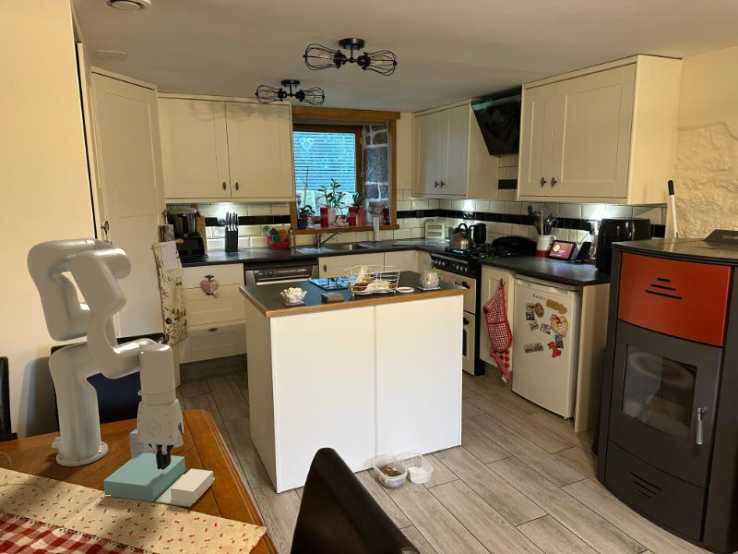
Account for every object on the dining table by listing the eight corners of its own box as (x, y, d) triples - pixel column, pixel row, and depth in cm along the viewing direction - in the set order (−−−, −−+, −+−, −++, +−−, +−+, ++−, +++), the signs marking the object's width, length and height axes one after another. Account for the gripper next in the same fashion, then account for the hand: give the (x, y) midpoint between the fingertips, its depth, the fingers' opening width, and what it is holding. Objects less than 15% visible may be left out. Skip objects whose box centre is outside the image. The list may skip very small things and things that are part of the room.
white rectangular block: (193, 491, 120) (194, 503, 120) (212, 471, 128) (213, 482, 129) (170, 488, 121) (171, 500, 121) (191, 468, 129) (191, 479, 130)
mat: (155, 502, 121) (155, 501, 121) (183, 475, 132) (182, 474, 132) (190, 506, 119) (190, 505, 119) (215, 478, 131) (215, 477, 131)
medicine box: (145, 464, 138) (143, 434, 136) (131, 462, 139) (128, 432, 137) (163, 450, 145) (161, 421, 144) (149, 448, 146) (146, 420, 145)
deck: (104, 495, 123) (103, 480, 123) (141, 466, 137) (140, 452, 136) (153, 502, 121) (152, 486, 120) (185, 471, 135) (184, 456, 134)
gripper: (121, 399, 121) (127, 471, 124) (178, 404, 118) (183, 478, 121) (140, 388, 128) (146, 456, 131) (195, 392, 125) (199, 461, 128)
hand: (164, 466), depth 126 cm, fingers closed
